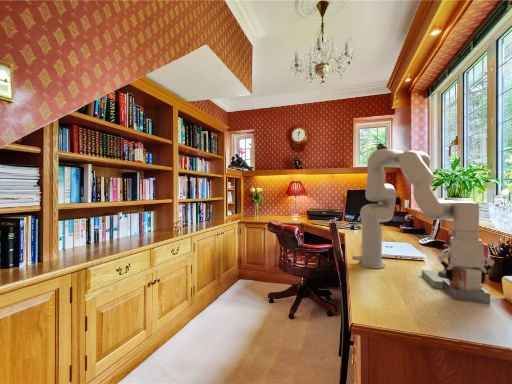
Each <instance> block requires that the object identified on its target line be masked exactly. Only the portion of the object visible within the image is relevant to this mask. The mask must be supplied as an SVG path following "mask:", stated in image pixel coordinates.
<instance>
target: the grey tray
mask: <svg viewBox="0 0 512 384" xmlns="http://www.w3.org/2000/svg"><path fill="white" fill-rule="evenodd" d="M449 282H450V280H444V279H443V288H442V290H444V291H445V292H447V294H448V295H449V296H450V297H452V298H453V299H454V300H455V301H459V302H462V301H463V302H469V301H470V302H471V303H480V304H488V305H490V304H491V293H490V292H488V291H487V290H485V289H484V288H483V287H482V288H481V292H478V291H468V290H458V289H457V288H456V287H454V286H453V285H452V284H451V283H449Z"/></svg>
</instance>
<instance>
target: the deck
mask: <svg viewBox="0 0 512 384" xmlns="http://www.w3.org/2000/svg"><path fill="white" fill-rule="evenodd" d="M421 277H423V278H424V279H425V280H426V281H427V282H428V283H429V284H430V285H431V286H432V287H433V288H438V289H443V279H444V280H448V279H447V277H446V269H445V271H444V270H429V269H421ZM481 288H482V289H483V285H482V284H481Z"/></svg>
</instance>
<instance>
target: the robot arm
mask: <svg viewBox="0 0 512 384" xmlns="http://www.w3.org/2000/svg"><path fill="white" fill-rule="evenodd" d="M430 165H431V158H430V156H429V155H428V154H427V153H425V151H424V152H423V151H418V150H417V151H415V150H401V149H400V150H398V149H390V148H380V149H376V150H373V152H372V153H371V154H370V155H369V157H368V158H367V166H366V167H367V168H366V169H367V174H366V175H367V176H366V185H365V199H366V200H367V201H370V202H375V203H369V204H365V205H363V206H362V207H361V209H360V211H359V215H360V222H361V254H360V255H352V260H355V261H358V262H357V263H358V265H359V266H361V267H364V268H369V269H384V268H385V267H386V263H384V262H383V261H382V260H383V258H382V257H383V255H382V254H383V252H382V251H383V230H382V226H381V225H380V223H384V222H385V223H387V222H390V221H391V220H392V218H393V217H394V213H395V206H396V199H397V191H396V188H395V187H394V186H393V185H392V184H390V183H386V176H387V175H386V171H385V169H384V167H385V168H386V167H387V168H388V167H389V168H399V169H402V171H403V173H404V174H405V175H406V177H407V178H408V179H409V182H410V183H411V185H412V187H413V188H412V189H413V198H414V201H415V203H416V204H417V206H418V208H419V209H420V211H421V213H423V214H424V215H425V216H426V217H427V218H429V219H431V220H436V221H437V220H452V230H448V235H451V237H450V239H449V243H448V248H447V249H448V250H447V252H446V253H443V255H441V254H440V255H438V256H437V259H438V261H439V263H440V264H441V266H443V268H444V267H445V268H446V277H447V279H448V280H450V281H452V278H453V271H452V270H451V269H452V268H453V267H454V266H462V267H471V268H474V269H477V270H481V285H482V284H485V281H486V274H487V273H488V272H489V270H491V269H492V267H493V266H494V264H495V261H494V259H491V258H489V257H487V256H485V249H484V244H483V241H482V239H481V238H480V205H479V203H478V202H475V201H462V200H461V201H457V200H456V201H455V200H449V199H445V200H444V199H437V198H436V196H435V194H434V193H433V192H432V190H431V189H432V188H431V187H430V186H431V185H430V184H431V183H432V182H433V181H434V180H435V175H434V173H433V172H432V171H431V170H430V168H429V166H430ZM376 202H378V203H376ZM446 258H447V261H448V262H447V264H446V263H445V262H444V260H445V259H446ZM485 262H487V263H485Z"/></svg>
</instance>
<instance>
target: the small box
mask: <svg viewBox="0 0 512 384" xmlns="http://www.w3.org/2000/svg"><path fill="white" fill-rule="evenodd" d="M451 270H452V271H453V278H452V281H450V282H449V283H451V284H452V285H453V286H454V287H456V288H457V289H458V290H468V291H478V292H481V285H482V284H481V270H479V269H478V268H474V267H462V266H454V267H453V268H452V269H451Z"/></svg>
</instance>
